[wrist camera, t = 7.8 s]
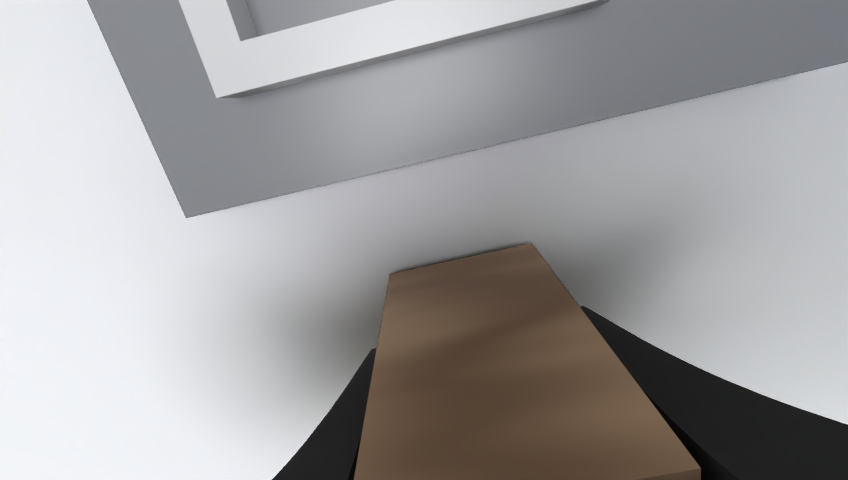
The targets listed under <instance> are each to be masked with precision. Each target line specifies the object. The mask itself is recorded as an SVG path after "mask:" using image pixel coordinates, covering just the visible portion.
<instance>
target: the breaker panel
mask: <svg viewBox="0 0 848 480" xmlns="http://www.w3.org/2000/svg"><path fill="white" fill-rule="evenodd" d="M87 1H88V3H89V6H90V8H91V10H92V12H93V14H94V17H95V19H96V21H97V23H98V25H99V28H100V30H101V32H102V34H103V36H104V39H105V41H106V43H107V45H108V47H109V50H110V52H111V54H112V56H113V58H114V61H115V63H116V65H117V67H118V69H119V72H120V74H121V76H122V78H123V80H124V83H125V85H126V87H127V89H128V91H129V94H130V96H131V98H132V100H133V102H134V105H135V107H136V109H137V111H138V113H139V116H140V118H141V120H142V122H143V124H144V127H145V129H146V131H147V133H148V135H149V138H150V140H151V142H152V144H153V146H154V149H155V151H156V153H157V155H158V157H159V160H160V162H161V164H162V166H163V168H164V171H165V173H166V175H167V177H168V179H169V182H170V184H171V186H172V188H173V190H174V193H175V195H176V197H177V199H178V201H179V204H180V206H181V208H182V210H183V212H184V215H185V217H186V218H189V217H193V216H197V215H202V214H206V213H210V212H214V211H218V210H223V209H227V208H231V207H235V206H240V205H244V204H248V203H252V202H257V201H261V200H265V199H269V198H274V197H278V196H282V195H286V194H290V193H295V192H299V191H303V190H307V189H312V188H316V187H320V186H324V185H329V184H333V183H337V182H341V181H346V180H350V179H354V178H358V177H362V176H367V175H371V174H375V173H379V172H384V171H388V170H392V169H396V168H401V167H405V166H409V165H413V164H418V163H422V162H426V161H430V160H434V159H439V158H443V157H447V156H451V155H456V154H460V153H464V152H468V151H473V150H477V149H481V148H485V147H490V146H494V145H498V144H502V143H506V142H511V141H515V140H519V139H523V138H528V137H532V136H536V135H540V134H545V133H549V132H553V131H557V130H562V129H566V128H570V127H574V126H578V125H583V124H587V123H591V122H595V121H600V120H604V119H608V118H612V117H617V116H621V115H625V114H629V113H634V112H638V111H642V110H646V109H650V108H655V107H659V106H663V105H667V104H672V103H676V102H680V101H684V100H689V99H693V98H697V97H701V96H706V95H710V94H714V93H718V92H722V91H727V90H731V89H735V88H739V87H744V86H748V85H752V84H756V83H761V82H765V81H769V80H773V79H778V78H782V77H786V76H790V75H794V74H799V73H803V72H807V71H811V70H816V69H820V68H824V67H828V66H833V65H837V64H841V63H845V62H848V0H87Z"/></svg>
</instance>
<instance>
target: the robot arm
mask: <svg viewBox="0 0 848 480" xmlns="http://www.w3.org/2000/svg"><path fill="white" fill-rule="evenodd" d="M580 308H581V309H582V311H583V312H584V313H585V315H586V316H587V317H588V319H589V320H590V321H591V323H592V324H593V325H594V327H595V328H596V329H597V331H598V332H599V333H600V335H601V336H602V337H603V339H604V340H605V341H606V343H607V344H608V345H609V347H610V348H611V349H612V351H613V352H614V353H615V354H616V356H617V357H618V358H619V360H620V361H621V362H622V364H623V365H624V366H625V368H626V369H627V370H628V372H629V373H630V374H631V376H632V377H633V378H634V380H635V381H636V382H637V384H638V385H639V386H640V388H641V389H642V390H643V392H644V393H645V394H646V396H647V397H648V398H649V400H650V401H651V402H652V404H653V405H654V406H655V408H656V409H657V410H658V412H659V413H660V414H661V416H662V417H663V418H664V420H665V421H666V422H667V424H668V425H669V426H670V428H671V429H672V430H673V432H674V433H675V434H676V436H677V437H678V438H679V440H680V441H681V442H682V444H683V445H684V446H685V448H686V449H687V450H688V452H689V453H690V454H691V456H692V457H693V458H694V460H695V461H696V462H697V464H698V465H699V466H700V468H701V480H848V425H846V424H843V423H840V422H838V421H835V420H832V419H829V418H826V417H823V416H820V415H817V414H814V413H811V412H808V411H805V410H802V409H799V408H796V407H793V406H790V405H788V404H785V403H782V402H780V401H777V400H774V399H771V398H769V397H766V396H764V395H761V394H759V393H756V392H754V391H751V390H749V389H746V388H744V387H741V386H739V385H736V384H734V383H731V382H729V381H726V380H724V379H722V378H720V377H717V376H715V375H713V374H710V373H708V372H706V371H704V370H702V369H700V368H698V367H695V366H693V365H691V364H689V363H687V362H685V361H683V360H681V359H679V358H677V357H675V356H673V355H671V354H669V353H667V352H665V351H663V350H661V349H659V348H657V347H655V346H653V345H651V344H650V343H648V342H646V341H644V340H642V339H640V338H639V337H637V336H635V335H633V334H631V333H630V332H628V331H626V330H624V329H623V328H621V327H619V326H617V325H616V324H614V323H612V322H611V321H609V320H607V319H605V318H604V317H602V316H600V315H599V314H597V313H595V312H593V311H592V310H590V309H588V308H586V307H584V306H581V307H580ZM376 350H377V348H375V349H372V350H371V351H370V353H369V354H368V356H367V357H366V358H365V360H364V361H363V363H362V364H361V366H360V367H359V369H358V370H357V372H356V373H355V375H354V376H353V378H352V379H351V381H350V382H349V384H348V385H347V387H346V388H345V390H344V391H343V393H342V394H341V395H340V397H339V398H338V400H337V401H336V402H335V404H334V405H333V407H332V408H331V410H330V411H329V412H328V414H327V415H326V416H325V417H324V419H323V420H322V421H321V423H320V424H319V425H318V426H317V428H316V429H315V430H314V432H313V433H312V434H311V436H310V437H309V438H308V439H307V441H306V442H305V443H304V444H303V446H302V447H301V448H300V449H299V450H298V452H297V453H296V454H295V455H294V456H293V457H292V458H291V460H290V461H289V462H288V463H287V464H286V465H285V466H284V467H283V468H282V470H281V471H280V472H279V473H278V474H277V475H276V476H275V477H274V478H273V479H272V480H354V476H355V470H356V464H357V458H358V453H359V447H360V441H361V435H362V430H363V424H364V418H365V413H366V407H367V401H368V395H369V390H370V384H371V378H372V372H373V367H374V361H375V355H376Z"/></svg>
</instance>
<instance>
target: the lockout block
mask: <svg viewBox="0 0 848 480" xmlns="http://www.w3.org/2000/svg"><path fill="white" fill-rule="evenodd" d="M354 480H701V468H700V466H699V465H698V464H697V462H696V461H695V460H694V458H693V457H692V456H691V454H690V453H689V452H688V450H687V449H686V448H685V446H684V445H683V444H682V442H681V441H680V440H679V438H678V437H677V436H676V434H675V433H674V432H673V430H672V429H671V428H670V426H669V425H668V424H667V422H666V421H665V420H664V418H663V417H662V416H661V414H660V413H659V412H658V410H657V409H656V408H655V406H654V405H653V404H652V402H651V401H650V400H649V398H648V397H647V396H646V394H645V393H644V392H643V390H642V389H641V388H640V386H639V385H638V384H637V382H636V381H635V380H634V378H633V377H632V376H631V374H630V373H629V372H628V370H627V369H626V368H625V366H624V365H623V364H622V362H621V361H620V360H619V358H618V357H617V356H616V354H615V353H614V352H613V351H612V349H611V348H610V347H609V345H608V344H607V343H606V341H605V340H604V339H603V337H602V336H601V335H600V333H599V332H598V331H597V329H596V328H595V327H594V325H593V324H592V323H591V321H590V320H589V319H588V317H587V316H586V315H585V313H584V312H583V311H582V309H581V308H580V307H579V305H578V304H577V303H576V301H575V300H574V299H573V297H572V296H571V295H570V293H569V292H568V291H567V289H566V288H565V287H564V285H563V284H562V283H561V281H560V280H559V279H558V277H557V276H556V275H555V273H554V272H553V271H552V269H551V268H550V267H549V265H548V264H547V263H546V261H545V260H544V259H543V257H542V256H541V255H540V253H539V252H538V251H537V249H536V248H535V247H534V245H533V244H532V243H530V244H526V245H521V246H517V247H512V248H507V249H503V250H498V251H493V252H489V253H484V254H480V255H475V256H470V257H466V258H461V259H457V260H452V261H447V262H443V263H438V264H434V265H429V266H424V267H420V268H415V269H410V270H406V271H401V272H397V273H392V274H390V275H389V281H388V287H387V292H386V298H385V304H384V309H383V315H382V321H381V327H380V332H379V338H378V344H377V350H376V355H375V361H374V367H373V372H372V378H371V384H370V390H369V395H368V401H367V407H366V413H365V418H364V424H363V430H362V435H361V441H360V447H359V453H358V458H357V464H356V470H355V476H354Z"/></svg>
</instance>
